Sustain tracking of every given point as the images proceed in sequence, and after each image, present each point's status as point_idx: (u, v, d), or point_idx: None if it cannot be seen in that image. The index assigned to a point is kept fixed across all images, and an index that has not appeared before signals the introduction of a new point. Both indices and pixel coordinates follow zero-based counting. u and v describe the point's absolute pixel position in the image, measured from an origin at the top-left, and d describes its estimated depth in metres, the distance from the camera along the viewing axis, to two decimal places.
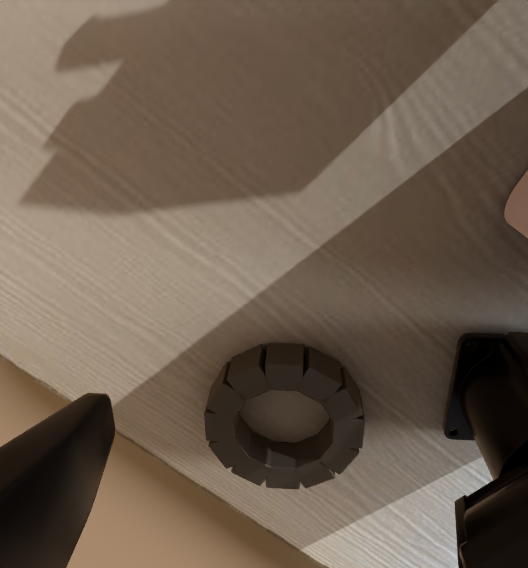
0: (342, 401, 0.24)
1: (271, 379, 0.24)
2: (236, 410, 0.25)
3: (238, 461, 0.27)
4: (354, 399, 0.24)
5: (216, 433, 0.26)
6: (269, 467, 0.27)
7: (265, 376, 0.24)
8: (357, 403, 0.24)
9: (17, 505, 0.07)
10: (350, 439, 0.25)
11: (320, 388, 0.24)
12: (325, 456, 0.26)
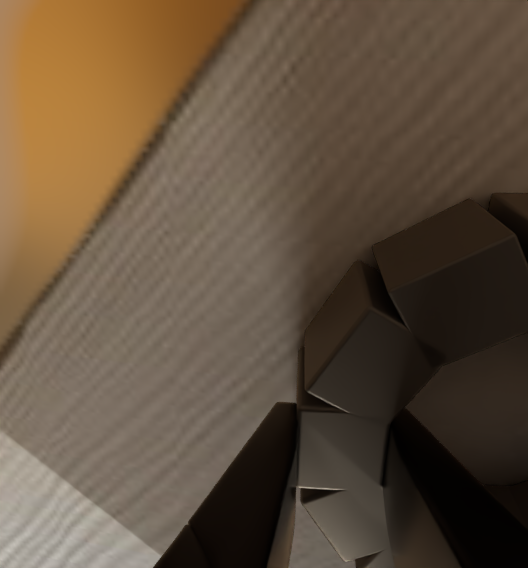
0: None
1: None
2: None
3: (416, 329, 0.07)
4: None
5: None
6: (385, 418, 0.08)
7: None
8: None
9: (281, 522, 0.06)
10: None
11: None
12: None
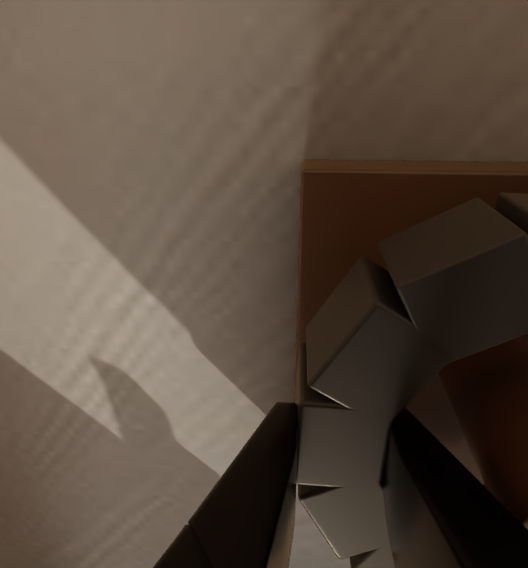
0: None
1: None
2: None
3: (423, 326, 0.07)
4: None
5: None
6: (388, 415, 0.08)
7: None
8: None
9: (281, 523, 0.06)
10: None
11: None
12: None
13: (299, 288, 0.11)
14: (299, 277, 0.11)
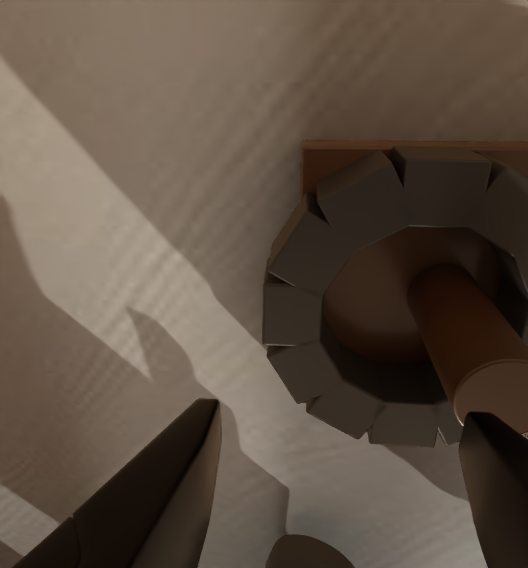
0: None
1: None
2: (490, 235, 0.11)
3: (336, 227, 0.12)
4: None
5: (428, 185, 0.11)
6: (320, 291, 0.12)
7: None
8: None
9: (171, 515, 0.06)
10: (392, 428, 0.14)
11: None
12: (352, 390, 0.14)
13: None
14: None
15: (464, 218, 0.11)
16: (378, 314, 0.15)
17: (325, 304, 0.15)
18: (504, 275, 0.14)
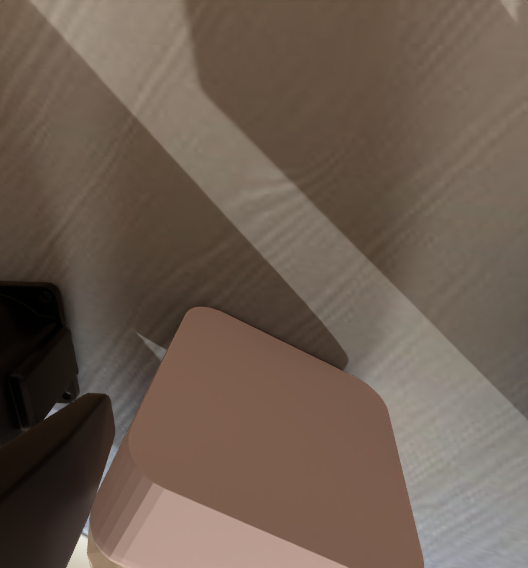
0: None
1: None
2: None
3: None
4: None
5: None
6: None
7: None
8: None
9: (17, 505, 0.07)
10: None
11: None
12: None
13: None
14: None
15: None
16: None
17: None
18: None
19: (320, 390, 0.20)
